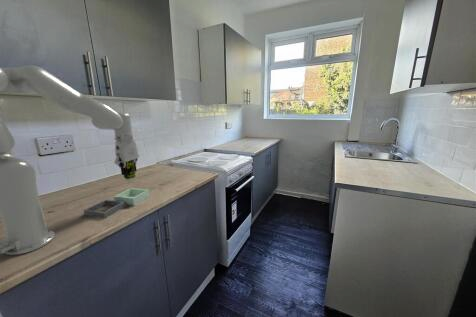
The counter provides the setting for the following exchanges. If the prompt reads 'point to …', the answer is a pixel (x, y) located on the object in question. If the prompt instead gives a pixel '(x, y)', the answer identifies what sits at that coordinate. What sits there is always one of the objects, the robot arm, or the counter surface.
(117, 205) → the tray
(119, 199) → the green bin
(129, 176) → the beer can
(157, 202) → the counter surface
